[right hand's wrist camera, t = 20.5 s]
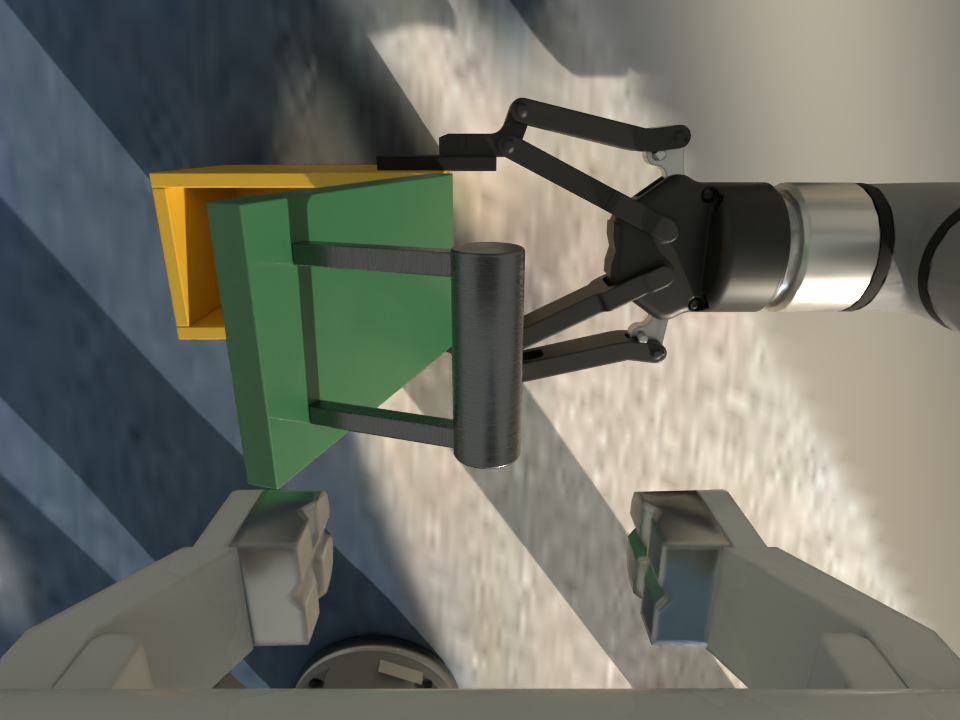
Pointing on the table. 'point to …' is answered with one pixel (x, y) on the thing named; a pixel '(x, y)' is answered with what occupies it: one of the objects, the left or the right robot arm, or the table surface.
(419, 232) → the lid
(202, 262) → the chest
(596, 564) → the table surface
